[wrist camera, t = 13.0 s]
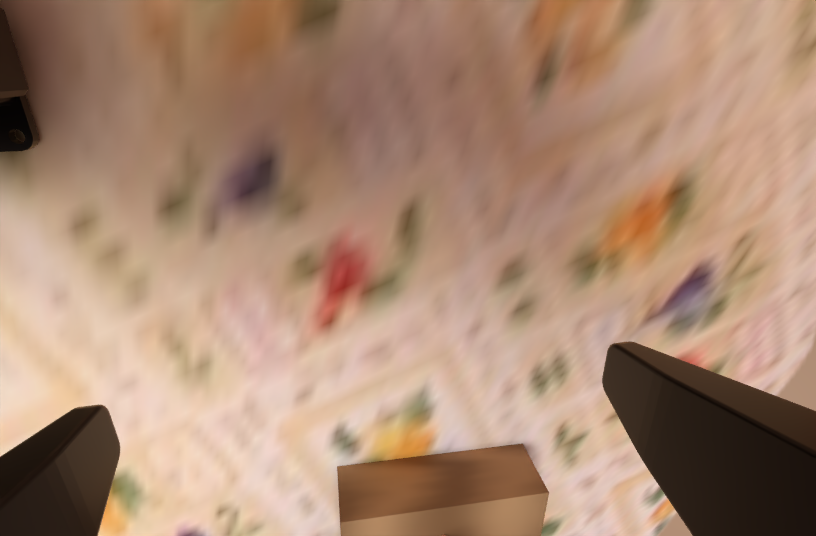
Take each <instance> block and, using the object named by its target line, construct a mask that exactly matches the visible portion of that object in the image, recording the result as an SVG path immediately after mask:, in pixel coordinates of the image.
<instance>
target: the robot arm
mask: <svg viewBox="0 0 816 536" xmlns="http://www.w3.org/2000/svg"><path fill="white" fill-rule="evenodd" d="M27 90H28V84H27V81H26V78H25V75H24V72H23V68H22V65H21V62H20V59H19V56H18V53H17V50H16V47H15V43H14V40H13V37H12V34H11V31H10V28H9V25H8V22H7V19H6V15H5V12H4V10H3V9H2V8H0V152H7V151H23V150H28V149H31V148H34V147H35V146H36V145H37V144H38V142H39V134H38V131H37V128H36V125H35V122H34V119H33V116H32V113H31V110H30V107H29V103H28V100H27V97H26V92H27ZM16 130H20V131H21V132H23V134H24V135H25V141H24V142H21V141H20V140H18V139H17V137H16V136H15V131H16ZM602 383H603V388H604V391H605V393H606V395H607V396H608V398H609V400H610V402H611V404H612V406H613V408H614V409H615V411H616V413H617V415H618V417H619V419H620V420H621V422H622V424H623V426H624V428H625V430H626V432H627V433H628V435H629V437H630V439H631V441H632V443H633V445H634V446H635V448H636V450H637V452H638V453H639V455H640V457H641V459H642V460H643V462H644V463H645V465H646V467H647V468H648V470H649V471H650V473H651V474H652V476H653V477H654V479H655V480H656V482H657V483H658V485H659V486H660V488H661V489H662V491H663V492H664V494H665V495H666V497H667V498H668V500H669V501H670V502H671V504H672V505H673V507H674V508H675V510H676V511H677V513H678V514H679V516H680V517H681V519H682V520H683V521H684V523H685V525H686V526H687V528H688V529H689V531H690V532H691V534H692V535H693V536H816V411H814V410H811V409H809V408H806V407H803V406H801V405H798V404H796V403H793V402H790V401H788V400H785V399H782V398H780V397H777V396H775V395H772V394H769V393H767V392H764V391H761V390H759V389H756V388H753V387H751V386H748V385H746V384H743V383H740V382H738V381H735V380H732V379H730V378H727V377H724V376H722V375H719V374H717V373H714V372H711V371H709V370H706V369H703V368H701V367H698V366H695V365H693V364H690V363H688V362H685V361H682V360H680V359H677V358H674V357H672V356H669V355H666V354H664V353H661V352H658V351H656V350H653V349H651V348H648V347H645V346H643V345H640V344H637V343H635V342H621V343H614V344H612V345H610V347H609V348H608V351H607V356H606V361H605V367H604V372H603V378H602ZM119 456H120V443H119V439H118V436H117V434H116V431H115V428H114V425H113V422H112V419H111V416H110V413H109V411H108V409H107V408H106V407H105V406H103V405H92V406H84V407H77V408H74V409H73V410H71V411H69V412H68V413H66V414H65V415H63V416H62V417H60V418H59V419H57V420H56V421H54V422H53V423H51V424H50V425H48V426H46V427H45V428H43V429H42V430H40V431H39V432H37V433H36V434H34V435H33V436H31V437H30V438H28V439H27V440H25V441H24V442H22V443H21V444H19V445H17V446H16V447H14V448H13V449H11V450H10V451H8V452H7V453H5V454H4V455H2V456H1V457H0V536H98V532H99V529H100V525H101V522H102V518H103V514H104V511H105V507H106V504H107V500H108V496H109V493H110V489H111V486H112V482H113V478H114V475H115V471H116V468H117V464H118V460H119Z"/></svg>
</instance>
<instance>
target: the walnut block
mask: <svg viewBox="0 0 816 536" xmlns="http://www.w3.org/2000/svg"><path fill="white" fill-rule="evenodd" d="M337 470H338V489H339V508H340V527H341V536H442V535H443V534H444V535H446V536H541V531H542V526H543V521H544V516H545V510H546V505H547V500H548V495H549V492H548V490H547V488H546V486H545V484H544V483H543V481H542V479H541V477H540V475H539V473H538V472H537V470H536V468H535V466H534V464H533V462H532V461H531V459H530V457H529V455H528V453H527V451H526V449H525V448H524V446H523V444H516V445H508V446H500V447H492V448H484V449H476V450H467V451H459V452H451V453H443V454H435V455H427V456H419V457H411V458H403V459H395V460H387V461H379V462H371V463H363V464H355V465H347V466H339V467H337Z"/></svg>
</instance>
